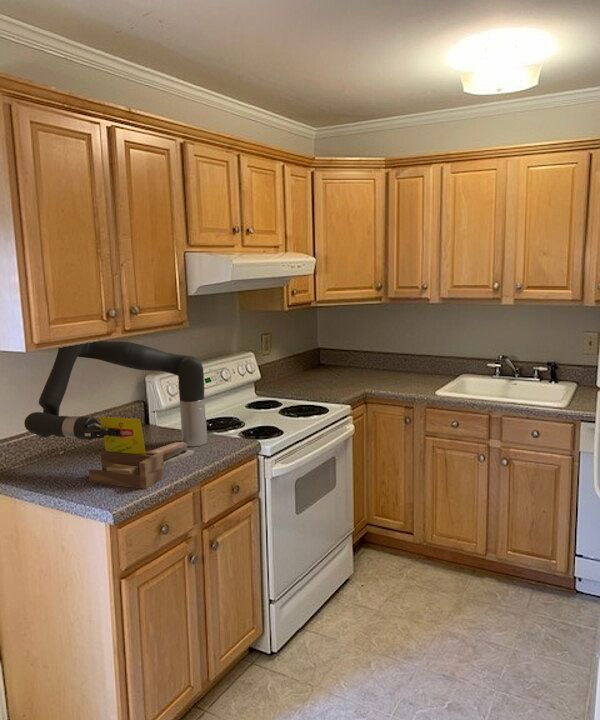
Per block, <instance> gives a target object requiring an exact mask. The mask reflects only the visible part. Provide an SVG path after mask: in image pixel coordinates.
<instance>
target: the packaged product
mask: <svg viewBox="0 0 600 720" xmlns="http://www.w3.org/2000/svg"><path fill="white" fill-rule="evenodd" d="M148 452H152V453H163V462H164V467H166V466H169V465H171V464H174V463H176V462H179V461H180V459H181V460H183V459H185V457H186V458H188V457H190V456H192V454H193V455H194V454H195V450H192V449H188V446H187V444H186V443H184V442H182V441H177V442H172V443H170V444H169V443H168V444H166V445H164V446H161V447H158V448H155V449H153V450H149V451H148ZM189 455H190V456H189ZM187 456H188V457H187ZM182 458H183V459H182ZM178 460H179V461H178Z"/></svg>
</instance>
